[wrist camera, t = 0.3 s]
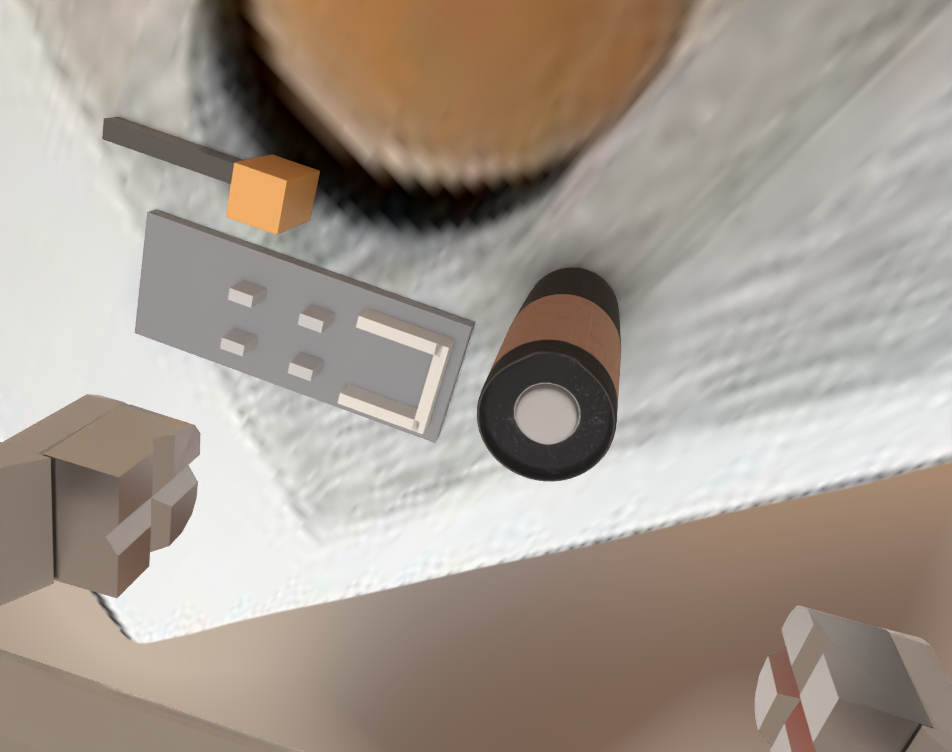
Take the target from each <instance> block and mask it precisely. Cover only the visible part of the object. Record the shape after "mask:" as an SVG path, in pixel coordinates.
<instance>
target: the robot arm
mask: <svg viewBox="0 0 952 752" xmlns="http://www.w3.org/2000/svg"><path fill="white" fill-rule="evenodd" d="M199 455H200V432H199V431H198V429H197V428H196V426H195V425H193V424H190V423H186V422H183V421H180V420H177V419H174V418H171V417H168V416H165V415H161V414H158V413H155V412H152V411H149V410H146V409H143V408H140V407H136V406H133V405H128V404H126V403H124V402H121V401H117V400H114V399H110V398H107V397H104V396H100V395H89V394H87V395H85V396H83V397H81V398H80V399H78V400H76V401H74V402H73V403H71V404H69V405H67V406H66V407H64V408H62V409H60V410H59V411H57V412H55V413H53V414H51V415H50V416H48V417H46V418H44V419H43V420H41V421H39V422H37V423H36V424H34V425H32V426H30V427H29V428H27V429H25V430H23V431H21V432H20V433H18V434H16V435H14V436H13V437H11V438H9V439H7V440H6V441H4V442H2V443H1V442H0V606H1V605H3V604H5V603H8V602H10V601H13V600H15V599H18V598H20V597H22V596H25V595H27V594H29V593H32V592H34V591H37V590H39V589H42V588H44V587H46V586H49V585H51V584H53V583H54V580H56V581H60V582H63V583H67V584H70V585H74V586H77V587H80V588H84V589H87V590H91V591H94V592H98V593H101V594H104V595H108V596H111V597H115V598H118V597H119V596H120V595H121V594H122V593H123V592H124V591H125V590H126V589H127V588H128V587H129V586H130V585H131V584H132V583H133V582H134V581H135V580H136V579H137V578H138V577H139V576H140V575H141V574H142V573H143V572H144V571H145V570H146V569H147V568H148V567H149V559H150V552H152V551H155V550H158V549H161V548H164V547H167V546H170V545H171V544H172V542H173V541H174V540H175V539H176V538H177V537H178V536H179V535H180V534H181V533H182V531H183V529H184V528H185V526H186V524H187V522H188V520H189V518H190V517H191V515H192V512H193V508H194V505H195V501H196V497H197V485H198V482H197V480H196V478H195V476H194V474H193V473H192V471H191V469H190V467H189V464H190V463H191V462H192V461H193V460H194V459H195V458H196V457H197V456H199ZM782 633H783V637H784V640H785V644H786V647H784V648H782V649H781V650H779V651H777V652H775V653H773V654H771V655H769V656H768V658H767V660H766V662H765V664H764V666H763V668H762V671H761V673H760V675H759V679H758V684H757V689H756V695H755V716H756V722H757V727H758V732H759V733H760V734H761V735H762V736H763V738H764V739H765V740H766V741H767V743H768V744H769V745H770V746H771V747H772V748H771V750H770V752H952V684H951V682H950V680H949V678H948V676H947V674H946V673H945V671H944V669H943V667H942V665H941V663H940V661H939V660H938V658H937V656H936V654H935V652H934V650H933V649H932V647H931V646H930V645H929V644H928V643H926V642H925V641H924V640H923V639H922V638H918V637H915V636H911V635H907V634H903V633H899V632H895V631H892V630H888V629H884V628H878V627H874V626H871V625H867V624H863V623H860V622H856V621H853V620H849V619H845V618H842V617H838V616H834V615H831V614H827V613H824V612H820V611H816V610H813V609H809V608H805V607H802V606H797V607H796V608H795V609H794V610H793V611H792V612H791V613H790V614H789V616H788V618H787V620H786V622H785V624H784V626H783V628H782ZM0 752H305V751H302V750H299V749H296V748H293V747H290V746H287V745H284V744H280V743H278V742H275V741H272V740H269V739H266V738H263V737H260V736H256V735H254V734H251V733H248V732H245V731H242V730H239V729H236V728H233V727H230V726H227V725H224V724H221V723H218V722H215V721H212V720H209V719H206V718H203V717H200V716H197V715H194V714H191V713H188V712H186V711H182V710H179V709H177V708H174V707H170V706H167V705H164V704H162V703H159V702H156V701H153V700H149V699H147V698H144V697H141V696H138V695H135V694H132V693H129V692H126V691H123V690H120V689H117V688H114V687H111V686H108V685H105V684H102V683H99V682H96V681H93V680H90V679H87V678H84V677H81V676H79V675H76V674H72V673H69V672H66V671H63V670H61V669H58V668H55V667H52V666H49V665H46V664H43V663H40V662H37V661H34V660H31V659H28V658H25V657H22V656H19V655H16V654H13V653H10V652H7V651H4V650H1V649H0Z"/></svg>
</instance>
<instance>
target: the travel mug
mask: <svg viewBox="0 0 952 752" xmlns="http://www.w3.org/2000/svg"><path fill="white" fill-rule="evenodd" d="M620 360H621V338H620V322H619V309H618V304H617V300H616V297H615V295H614V293H613V291H612V289H611V288H610V286H609V285H608V284H607V283H606V282H605V281H604V280H603V279H602V278H601V277H599V276H598V275H596V274H594V273H593V272H590V271H588V270H584V269H580V268H565V269H560V270H557V271H554V272H552V273H550V274H548V275H546V276H545V277H544V278H542V279H541V280H540V281H539V282H538V283H537V284H536V285H535V287H534V288H533V290H532V291H531V293H530V294H529V296H528V297H527V299H526V301H525V302H524V304H523V306H522V307H521V309H520V311H519V312H518V314H517V315H516V317H515V319H514V321H513V322H512V324H511V326H510V328H509V331H508V333H507V335H506V337H505V340H504V342H503V344H502V346H501V349H500V351H499V353H498V355H497V357H496V360H495V362H494V364H493V366H492V369H491V371H490V373H489V375H488V377H487V380H486V382H485V384H484V386H483V388H482V391H481V394H480V397H479V401H478V406H477V422H478V427H479V432H480V434H481V437H482V440H483V442H484V443H485V445H486V447H487V449H488V450H489V451H490V453H491V454H492V455H493V456H494V457H495V458H496V460H497V461H499V462H500V463H501V464H502V465H503V466H505V467H506V468H508V469H509V470H511V471H512V472H514V473H516V474H518V475H521V476H523V477H526V478H529V479H533V480H539V481H562V480H566V479H571V478H573V477H576V476H579V475H581V474H583V473H585V472H587V471H588V470H590V469H591V468H592V467H594V466H595V465H596V464H597V463H598V462H599V461H600V460H601V459H602V458H603V457H604V455H605V454H606V452H607V451H608V449H609V448H610V445H611V443H612V441H613V438H614V434H615V430H616V423H617V408H618V392H619V376H620Z"/></svg>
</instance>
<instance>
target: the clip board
mask: <svg viewBox="0 0 952 752" xmlns="http://www.w3.org/2000/svg"><path fill="white" fill-rule="evenodd" d="M474 323H475V322H472V321H469V320H466V319H464V318H461V317H458V316H455V315H452V314H449V313H447V312H444V311H441V310H438V309H435V308H432V307H430V306H427V305H424V304H421V303H418V302H416V301H413V300H410V299H407V298H404V297H401V296H399V295H396V294H393V293H390V292H387V291H384V290H382V289H379V288H376V287H373V286H370V285H368V284H365V283H362V282H359V281H356V280H353V279H351V278H348V277H345V276H342V275H339V274H336V273H334V272H331V271H328V270H325V269H322V268H319V267H317V266H314V265H311V264H308V263H305V262H303V261H300V260H297V259H294V258H291V257H288V256H286V255H283V254H280V253H277V252H274V251H271V250H269V249H266V248H263V247H260V246H257V245H255V244H252V243H249V242H246V241H243V240H240V239H238V238H235V237H232V236H229V235H226V234H223V233H221V232H218V231H215V230H212V229H209V228H206V227H204V226H201V225H198V224H195V223H192V222H190V221H187V220H184V219H181V218H178V217H175V216H173V215H170V214H167V213H164V212H161V211H158V210H153V211H150V212H147V221H146V231H145V240H144V250H143V260H142V269H141V279H140V288H139V298H138V308H137V317H136V327H135V333H136V334H139V335H142V336H145V337H147V338H150V339H153V340H156V341H158V342H161V343H164V344H167V345H169V346H172V347H175V348H177V349H180V350H183V351H186V352H188V353H191V354H194V355H197V356H199V357H202V358H205V359H207V360H210V361H213V362H216V363H218V364H221V365H224V366H227V367H229V368H232V369H235V370H238V371H240V372H243V373H246V374H248V375H251V376H254V377H257V378H259V379H262V380H265V381H268V382H270V383H273V384H276V385H279V386H281V387H284V388H287V389H289V390H292V391H295V392H298V393H300V394H303V395H306V396H309V397H311V398H314V399H317V400H320V401H322V402H325V403H328V404H330V405H333V406H336V407H339V408H341V409H344V410H347V411H350V412H352V413H355V414H358V415H361V416H363V417H366V418H369V419H371V420H374V421H377V422H380V423H382V424H385V425H388V426H391V427H393V428H396V429H399V430H401V431H404V432H407V433H410V434H412V435H415V436H418V437H421V438H423V439H426V440H429V441H432V442H434V443H435V442H436V441H437V439H438V437H439V434H440V431H441V427H442V424H443V421H444V418H445V415H446V412H447V408H448V405H449V402H450V399H451V396H452V393H453V390H454V386H455V383H456V380H457V377H458V374H459V371H460V367H461V364H462V361H463V358H464V355H465V352H466V348H467V345H468V342H469V339H470V336H471V333H472V329H473V326H474Z"/></svg>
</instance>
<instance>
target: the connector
mask: <svg viewBox="0 0 952 752" xmlns="http://www.w3.org/2000/svg"><path fill="white" fill-rule="evenodd" d="M102 139H104V140H106V141H109V142H112V143H115V144H118V145H121V146H124V147H127V148H129V149H132V150H135V151H138V152H141V153H144V154H147V155H149V156H152V157H155V158H158V159H161V160H164V161H167V162H169V163H172V164H175V165H178V166H181V167H184V168H187V169H190V170H192V171H195V172H198V173H201V174H204V175H207V176H210V177H212V178H215V179H218V180H221V181H224V182H227V183H230V184H231V188H230V194H229V201H228V208H227V214H226V217H228V218H231V219H233V220H236V221H239V222H242V223H245V224H248V225H250V226H253V227H256V228H259V229H262V230H265V231H267V232H270V233H273V234H276V235H278V234H280V233H282V232H285V231H287V230H289V229H291V228H294V227H296V226H298V225H300V224H303V223H305V222H307V221H309V220H310V219H311V214H312V209H313V204H314V199H315V194H316V188H317V183H318V178H319V173H320V171H319V170H316V169H313V168H310V167H307V166H304V165H302V164H299V163H296V162H293V161H290V160H287V159H284V158H281V157H278V156H276V155H273V154H272V155H267V156H262V157H258V158H253V159H248V160H241V159H238V158H235V157H232V156H229V155H226V154H223V153H220V152H218V151H215V150H212V149H209V148H206V147H203V146H200V145H197V144H195V143H192V142H189V141H186V140H183V139H180V138H177V137H174V136H171V135H169V134H166V133H163V132H160V131H157V130H154V129H151V128H148V127H146V126H143V125H140V124H137V123H134V122H131V121H128V120H125V119H122V118H120V117H115V118H104V124H103V138H102Z"/></svg>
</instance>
